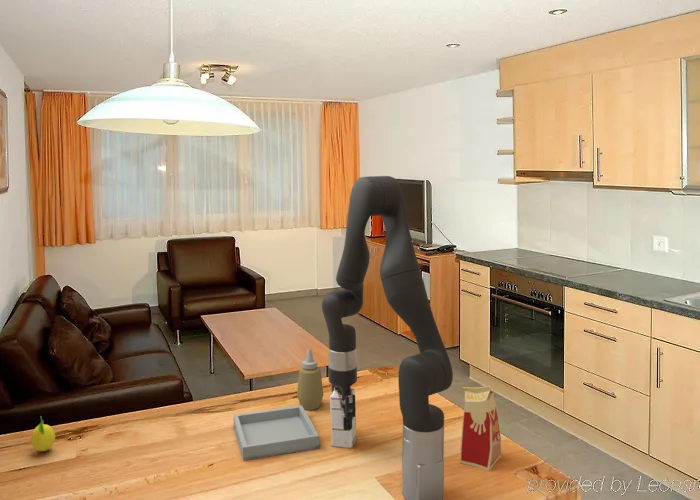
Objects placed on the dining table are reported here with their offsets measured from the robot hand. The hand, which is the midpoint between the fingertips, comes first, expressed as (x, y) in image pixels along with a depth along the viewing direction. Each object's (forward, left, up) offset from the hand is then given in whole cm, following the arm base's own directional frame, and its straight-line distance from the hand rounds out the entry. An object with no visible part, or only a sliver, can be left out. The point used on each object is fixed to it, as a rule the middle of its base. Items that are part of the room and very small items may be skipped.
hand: (343, 422), depth 161 cm
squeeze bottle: (+25, +3, -6) cm, 26 cm away
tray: (+9, +17, -6) cm, 20 cm away
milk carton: (-19, -30, -6) cm, 36 cm away
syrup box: (0, 0, -6) cm, 6 cm away
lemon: (+20, +76, -6) cm, 79 cm away
